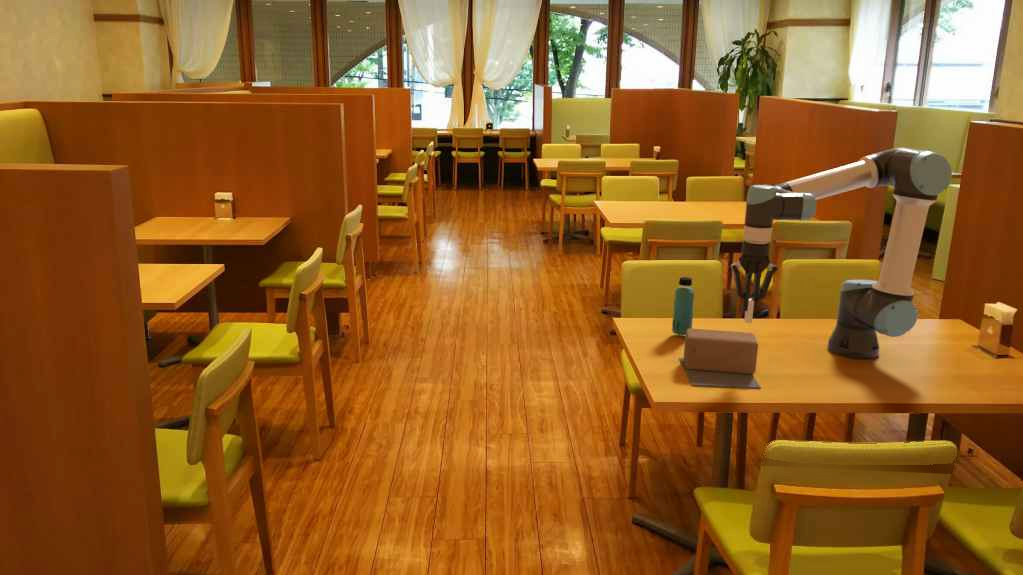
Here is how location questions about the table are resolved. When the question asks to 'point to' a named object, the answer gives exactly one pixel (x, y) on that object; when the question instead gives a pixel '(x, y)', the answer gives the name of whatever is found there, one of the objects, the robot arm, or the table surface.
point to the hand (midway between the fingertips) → (748, 321)
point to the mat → (720, 378)
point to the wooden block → (720, 351)
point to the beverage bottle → (683, 307)
